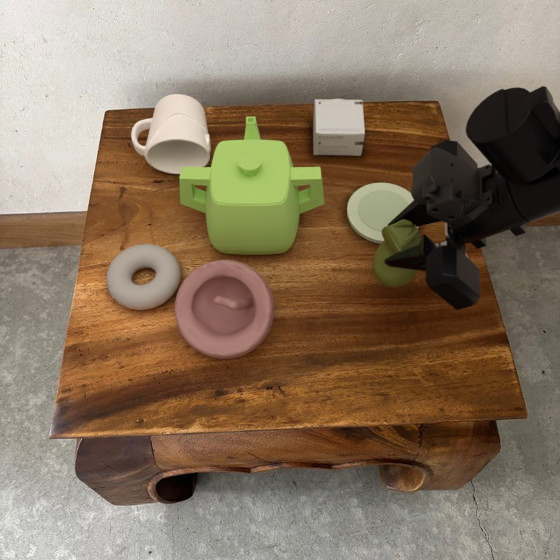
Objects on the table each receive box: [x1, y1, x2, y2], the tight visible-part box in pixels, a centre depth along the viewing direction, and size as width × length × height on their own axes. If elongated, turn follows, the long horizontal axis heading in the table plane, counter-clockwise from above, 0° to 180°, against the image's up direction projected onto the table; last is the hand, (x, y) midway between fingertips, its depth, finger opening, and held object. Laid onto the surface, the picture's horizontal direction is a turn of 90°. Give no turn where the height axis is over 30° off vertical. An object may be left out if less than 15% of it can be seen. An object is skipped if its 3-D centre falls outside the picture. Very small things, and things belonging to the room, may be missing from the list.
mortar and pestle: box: [174, 259, 276, 360], centre depth 67 cm, size 12×12×11 cm
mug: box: [130, 93, 212, 175], centre depth 85 cm, size 12×9×8 cm
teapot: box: [178, 116, 325, 256], centre depth 76 cm, size 18×20×13 cm
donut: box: [105, 243, 182, 311], centre depth 74 cm, size 10×4×10 cm
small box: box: [312, 98, 366, 157], centre depth 87 cm, size 8×8×5 cm
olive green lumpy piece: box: [371, 219, 422, 288], centre depth 65 cm, size 6×5×10 cm
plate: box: [346, 182, 420, 245], centre depth 81 cm, size 11×11×1 cm
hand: (387, 245), depth 63 cm, fingers closed on olive green lumpy piece, 5 cm apart
